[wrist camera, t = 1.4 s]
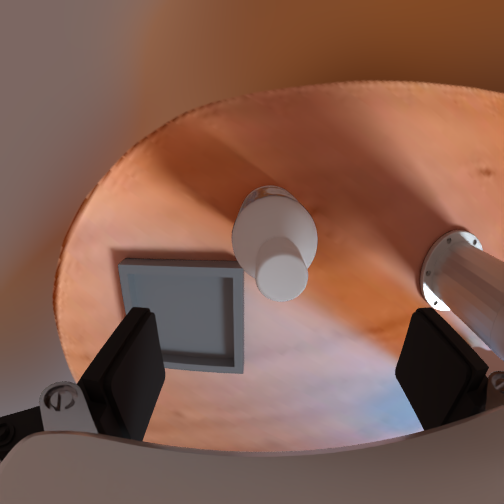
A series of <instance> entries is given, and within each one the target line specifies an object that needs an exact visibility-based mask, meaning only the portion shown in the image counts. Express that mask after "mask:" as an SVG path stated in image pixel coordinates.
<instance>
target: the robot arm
mask: <svg viewBox="0 0 504 504" xmlns="http://www.w3.org/2000/svg"><path fill="white" fill-rule="evenodd" d="M420 287H421V291H422V295H423V297H424V299H425V300H426V301H427V302H428V304H429V305H430V306H432V307H433V308H435V309H437V310H441V311H447V310H451V311H452V312H453V313H454V314H455V315H457V316H458V317H459V318H460V319H461V320H462V321H463V322H464V323H465V324H466V325H467V326H468V327H469V328H470V329H471V330H472V331H473V332H474V333H475V334H476V335H477V336H478V337H479V338H480V339H481V340H482V341H483V342H484V343H485V344H486V345H487V346H488V347H489V348H490V349H491V350H492V351H493V352H494V353H495V354H496V355H497V356H498V357H499V358H500V359H502V360H503V361H504V262H503V261H501V260H499V259H497V258H495V257H494V256H492V255H490V254H488V253H486V252H484V251H483V249H482V246H481V243H480V242H479V240H478V239H477V238H476V237H475V236H474V235H473V234H471V233H470V232H467V231H464V230H454V231H450V232H448V233H446V234H444V235H443V236H442V237H440V238H439V239H438V240H437V241H436V242H435V243H434V245H433V246H432V247H431V249H430V250H429V252H428V254H427V256H426V257H425V260H424V263H423V265H422V270H421V276H420ZM433 308H431V307H429V308H418V309H417V310H416V312H414V313H413V314H412V317H411V321H410V324H409V328H408V331H407V335H406V338H405V341H404V345H403V348H402V351H401V354H400V357H399V360H398V363H397V366H396V369H395V375H396V378H397V380H398V382H399V383H400V385H401V387H402V389H403V391H404V393H405V394H406V396H407V398H408V400H409V402H410V404H411V406H412V408H413V409H414V411H415V413H416V415H417V417H418V419H419V421H420V423H421V425H422V427H423V429H424V431H421V432H418V433H414V434H409V435H405V436H401V437H396V438H392V439H387V440H382V441H376V442H371V443H365V444H358V445H352V446H344V447H336V448H327V449H317V450H303V451H282V452H239V451H219V450H205V449H195V448H186V447H177V446H169V445H162V444H155V443H149V442H143V441H142V440H143V437H144V435H145V432H146V429H147V426H148V424H149V421H150V418H151V415H152V413H153V410H154V407H155V404H156V402H157V399H158V396H159V394H160V391H161V388H162V386H163V383H164V380H165V368H164V363H163V358H162V353H161V347H160V342H159V336H158V330H157V323H156V317H155V314H154V312H150V309H149V308H142V307H133V308H131V310H130V311H129V312H128V314H127V315H126V316H125V318H124V319H123V320H122V322H121V323H120V324H119V326H118V327H117V328H116V330H115V331H114V332H113V334H112V335H111V336H110V338H109V339H108V340H107V342H106V343H105V344H104V346H103V347H102V349H101V350H100V351H99V353H98V354H97V355H96V357H95V358H94V360H93V361H92V362H91V364H90V365H89V367H88V368H87V370H86V371H85V372H84V374H83V375H82V377H81V379H80V380H79V381H78V383H77V384H75V383H72V382H67V381H62V382H56V383H54V384H51V385H50V386H48V387H47V388H45V389H44V390H43V392H42V393H41V395H40V398H39V404H40V406H37V407H34V408H31V409H28V410H24V411H21V412H17V413H14V414H10V415H7V416H3V417H0V504H504V371H495V372H492V373H491V374H490V375H489V377H488V378H487V377H486V375H485V374H486V372H487V370H488V368H489V367H488V366H487V364H486V363H485V362H484V361H483V360H482V359H481V358H480V357H479V356H478V354H477V353H476V352H475V351H474V350H473V349H472V348H471V347H470V346H469V345H468V344H467V343H466V342H465V340H464V339H463V338H462V337H461V336H460V335H459V334H458V333H457V332H456V331H455V330H454V329H453V328H452V327H451V326H450V325H449V324H448V323H447V322H446V321H445V320H444V319H443V318H442V317H441V316H440V315H439V314H438V313H437V312H436V311H435V310H434V309H433Z"/></svg>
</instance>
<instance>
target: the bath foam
mask: <svg viewBox="0 0 504 504" xmlns="http://www.w3.org/2000/svg"><path fill="white" fill-rule="evenodd" d="M317 243H318V238H317V230H316V227H315V223H314V221H313V219H312V217H311V215H310V214H309V212H308V211H307V210H306V209H305V208H304V207H303V206H302V205H301V204H300V203H299V202H298V201H297V200H296V198H295V197H294V196H293V195H291V194H290V193H289V192H288V191H287V190H285V189H283V188H281V187H278V186H271V185H269V186H262V187H259V188H257V189H255V190H253V191H252V192H251V193H250V194H249V195H248V196H247V197H246V198H245V200H244V202H243V204H242V206H241V208H240V211H239V213H238V216H237V218H236V221H235V224H234V226H233V230H232V246H233V251H234V254H235V257H236V259H237V261H238V263H239V264H240V266H241V267H242V268H243V269H244V271H245V272H247V273H248V274H249V275H250V276H252V277H253V278H255V280H256V284H257V287H258V289H259V291H260V292H261V293H262V294H263V295H264V296H265V297H267V298H268V299H271V300H273V301H279V302H283V301H289V300H292V299H294V298H296V297H297V296H298V295H300V294H301V293H302V291H303V290H304V289H305V287H306V284H307V281H308V271H307V269H308V267H309V266H310V264H311V263H312V261H313V259H314V257H315V254H316V250H317Z"/></svg>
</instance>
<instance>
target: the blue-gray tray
mask: <svg viewBox="0 0 504 504" xmlns="http://www.w3.org/2000/svg"><path fill="white" fill-rule="evenodd" d="M118 269H119V276H120V283H121V289H122V295H123V301H124V306H125V312H126V315H127V314H128V312H129V311H130V310H131V308H133V307H142V308H149V309H150V312H154V314H155V317H156V323H157V330H158V336H159V342H160V347H161V353H162V358H163V363H164V368H170V369H179V370H190V371H202V372H217V373H237V374H243V370H244V269H243V268H242V267H241V266H240V264H239V263H238V261H208V260H169V259H134V258H125V259H124V260H123V261H122V262H120V263H119V264H118Z"/></svg>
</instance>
